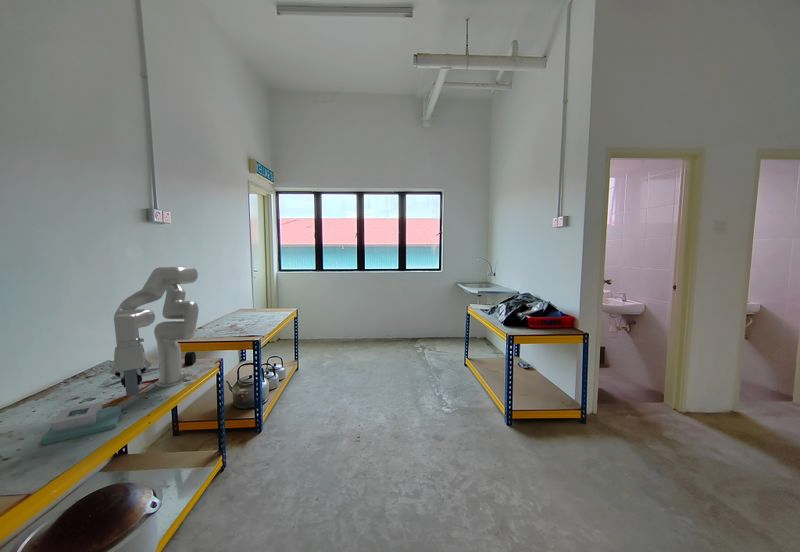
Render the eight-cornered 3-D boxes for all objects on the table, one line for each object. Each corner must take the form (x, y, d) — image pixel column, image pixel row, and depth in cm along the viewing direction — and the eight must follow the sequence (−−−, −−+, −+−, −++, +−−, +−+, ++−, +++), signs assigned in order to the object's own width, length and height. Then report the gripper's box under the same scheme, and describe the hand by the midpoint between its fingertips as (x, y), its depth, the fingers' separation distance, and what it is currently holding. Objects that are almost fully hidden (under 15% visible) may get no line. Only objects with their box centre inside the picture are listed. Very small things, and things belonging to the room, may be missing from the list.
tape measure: (192, 367, 196) (191, 354, 195) (184, 368, 195) (183, 354, 194) (199, 359, 210) (199, 346, 209) (192, 359, 209) (191, 347, 208)
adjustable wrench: (113, 380, 170) (113, 376, 170) (105, 379, 172) (105, 375, 172) (163, 369, 193) (163, 365, 193) (155, 368, 195) (155, 365, 195)
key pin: (139, 390, 147) (137, 363, 145) (138, 394, 143) (135, 366, 142) (127, 392, 145) (125, 365, 143) (126, 396, 141) (123, 368, 140)
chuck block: (122, 409, 146) (121, 396, 145) (115, 428, 131) (114, 413, 130) (58, 422, 135) (56, 408, 135) (42, 445, 120) (41, 428, 119)
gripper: (153, 337, 149) (157, 377, 151) (103, 344, 140) (108, 386, 142) (152, 342, 143) (156, 383, 145) (100, 349, 134) (104, 393, 136)
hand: (132, 384), depth 143 cm, fingers closed on key pin, 4 cm apart
